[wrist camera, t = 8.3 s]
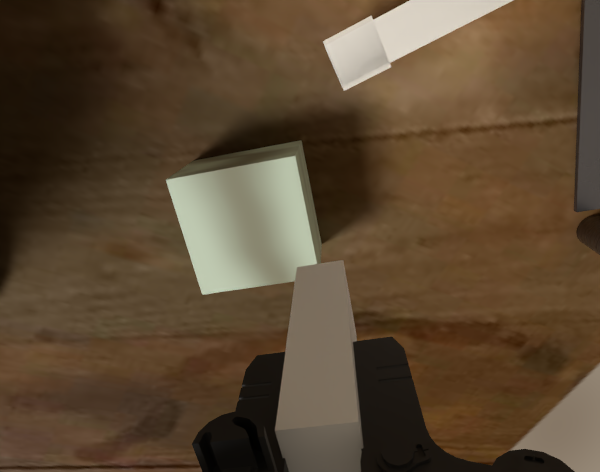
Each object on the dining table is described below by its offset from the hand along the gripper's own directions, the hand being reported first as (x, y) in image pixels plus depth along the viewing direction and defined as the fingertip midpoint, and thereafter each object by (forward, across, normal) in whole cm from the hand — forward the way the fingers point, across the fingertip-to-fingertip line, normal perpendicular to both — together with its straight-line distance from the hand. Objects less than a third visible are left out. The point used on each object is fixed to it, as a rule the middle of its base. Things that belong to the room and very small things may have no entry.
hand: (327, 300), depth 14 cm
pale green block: (+14, -4, 0) cm, 15 cm away
